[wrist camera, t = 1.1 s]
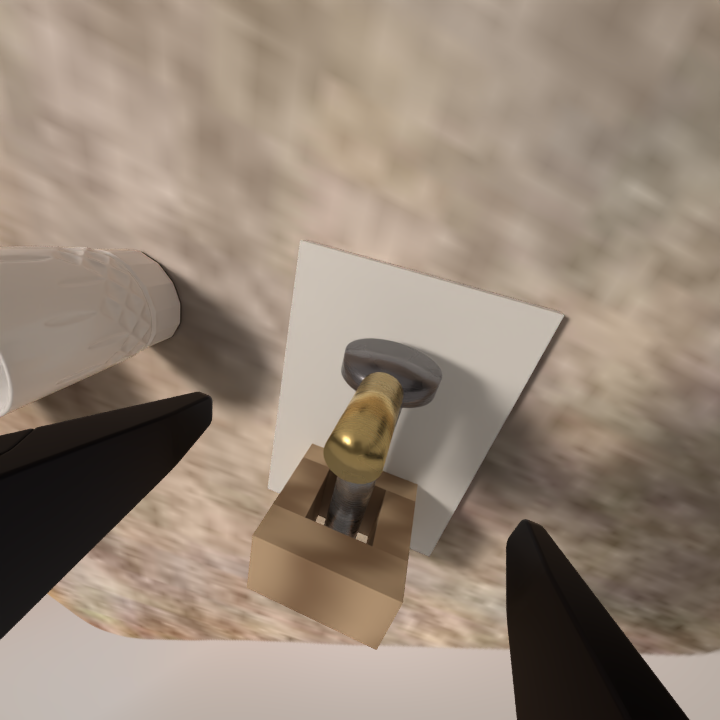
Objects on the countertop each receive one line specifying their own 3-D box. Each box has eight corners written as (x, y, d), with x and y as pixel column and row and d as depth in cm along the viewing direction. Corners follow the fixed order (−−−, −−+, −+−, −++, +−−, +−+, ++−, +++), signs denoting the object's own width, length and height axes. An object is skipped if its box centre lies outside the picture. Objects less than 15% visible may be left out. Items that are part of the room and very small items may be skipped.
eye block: (417, 484, 21) (402, 602, 14) (397, 529, 23) (376, 649, 16) (312, 443, 22) (252, 535, 15) (302, 489, 24) (246, 587, 18)
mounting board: (559, 311, 15) (564, 315, 15) (429, 547, 24) (429, 556, 23) (306, 239, 17) (300, 240, 17) (272, 481, 26) (267, 488, 25)
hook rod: (446, 350, 15) (442, 466, 8) (366, 551, 23) (325, 707, 16) (362, 323, 16) (283, 406, 9) (311, 527, 24) (247, 666, 16)
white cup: (164, 366, 24) (0, 444, 15) (87, 295, 24) (-132, 335, 15) (206, 299, 21) (24, 350, 12) (117, 213, 20) (-150, 198, 11)
